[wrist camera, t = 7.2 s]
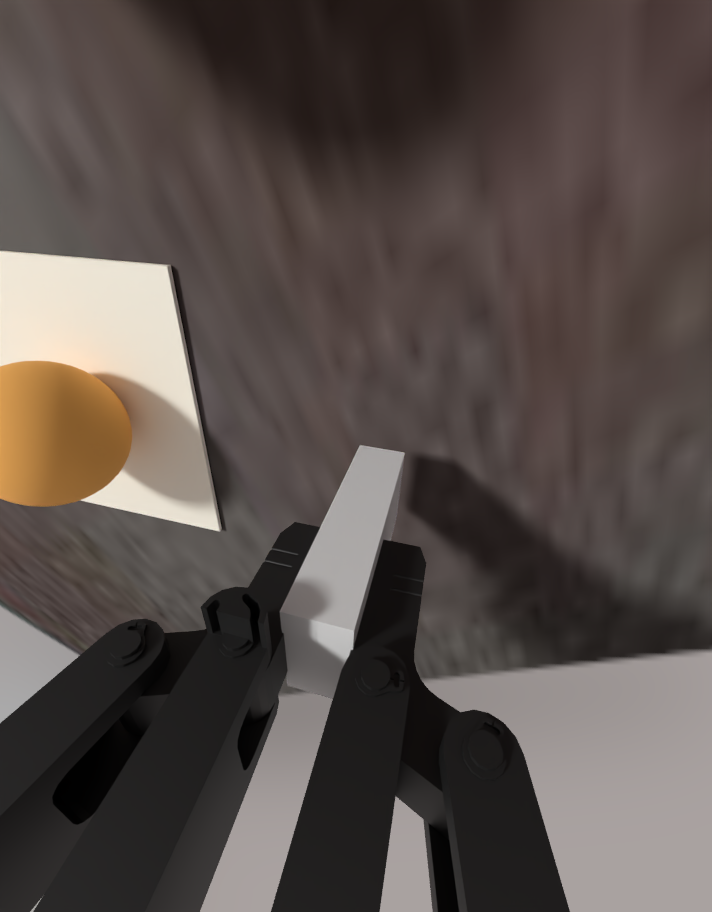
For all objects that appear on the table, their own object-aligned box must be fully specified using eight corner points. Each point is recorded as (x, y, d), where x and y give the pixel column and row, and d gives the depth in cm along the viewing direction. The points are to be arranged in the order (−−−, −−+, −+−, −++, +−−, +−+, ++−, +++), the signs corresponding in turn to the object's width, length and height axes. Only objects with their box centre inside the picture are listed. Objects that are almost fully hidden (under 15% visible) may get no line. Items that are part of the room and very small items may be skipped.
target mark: (170, 265, 13) (167, 266, 13) (221, 528, 20) (219, 531, 20) (-98, 242, 16) (-104, 242, 15) (27, 485, 22) (23, 487, 22)
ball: (113, 336, 17) (105, 384, 13) (145, 446, 20) (148, 515, 16) (-55, 348, 15) (-130, 410, 11) (9, 469, 18) (-29, 555, 14)
